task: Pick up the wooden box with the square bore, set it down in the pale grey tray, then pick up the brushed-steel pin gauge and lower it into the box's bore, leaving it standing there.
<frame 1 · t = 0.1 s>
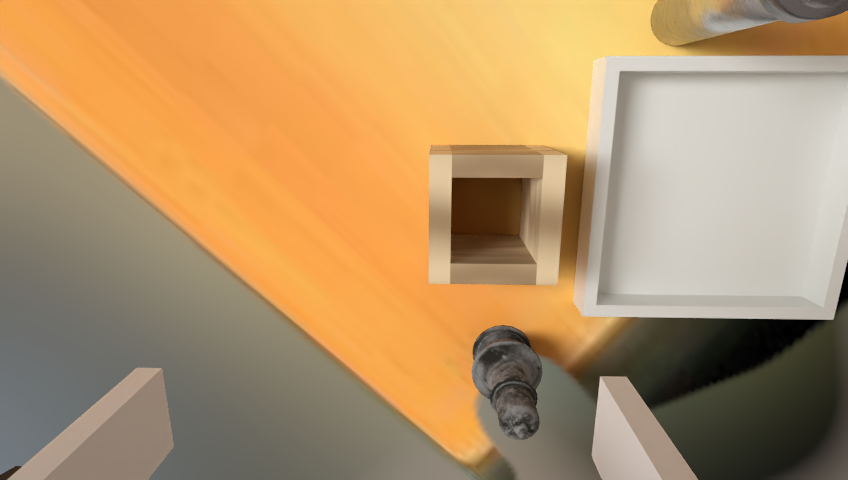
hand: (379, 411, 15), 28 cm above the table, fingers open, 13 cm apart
tray: (705, 189, 40), on the table
wooden box: (484, 200, 41), on the table
pin gauge: (677, 17, 37), on the table
salt shaker: (501, 351, 45), on the table
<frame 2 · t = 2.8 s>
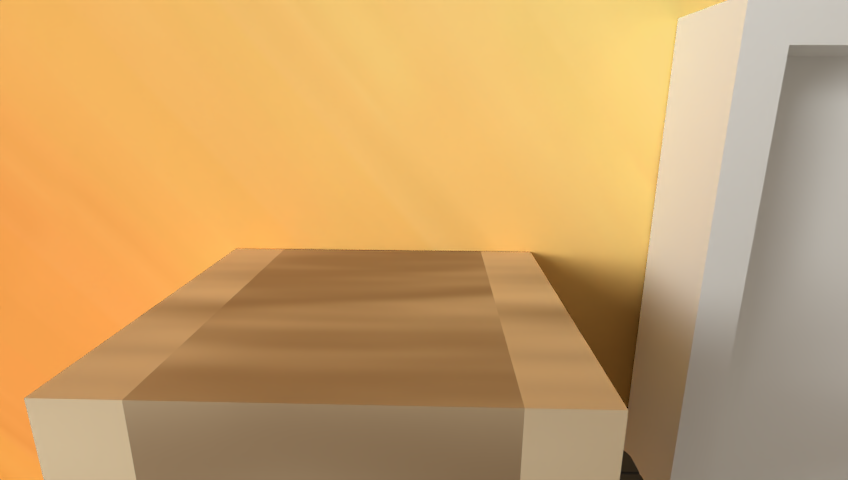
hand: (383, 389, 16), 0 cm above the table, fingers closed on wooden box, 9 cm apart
wooden box: (384, 381, 16), on the table, touching gripper
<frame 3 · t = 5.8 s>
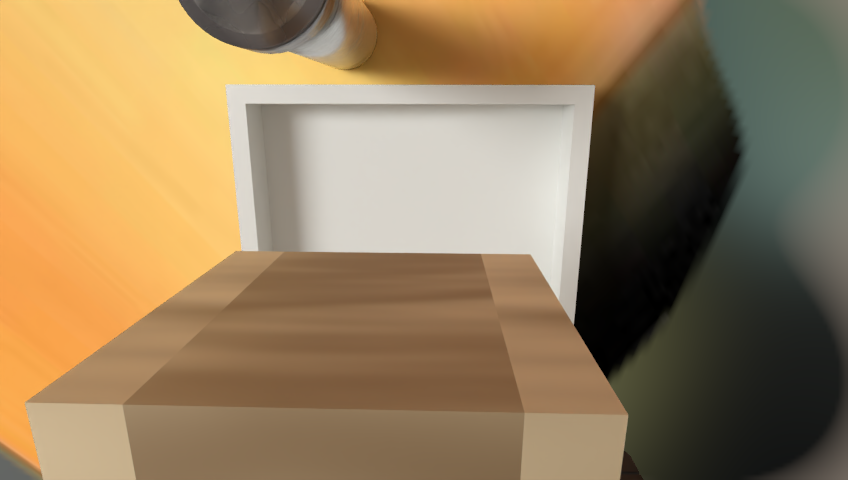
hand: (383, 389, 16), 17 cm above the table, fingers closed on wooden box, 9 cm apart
tray: (412, 247, 32), on the table
wooden box: (384, 383, 16), point 17 cm above the table, touching gripper
pin gauge: (343, 33, 29), on the table
when the fingers open (2 cm above the table, at t = 8.9 s): wooden box stays where it is, resting on tray.
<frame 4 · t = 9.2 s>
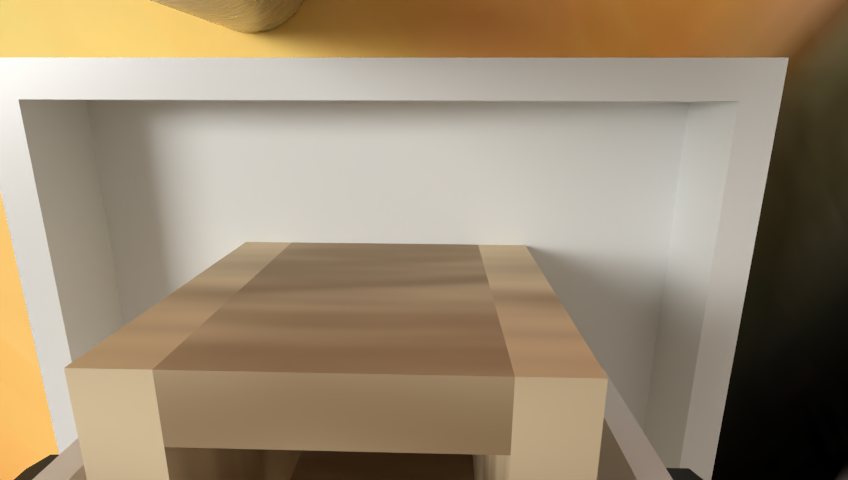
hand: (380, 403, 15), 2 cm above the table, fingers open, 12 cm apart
tray: (389, 363, 18), on the table
wooden box: (386, 369, 17), point 1 cm above the table, touching tray
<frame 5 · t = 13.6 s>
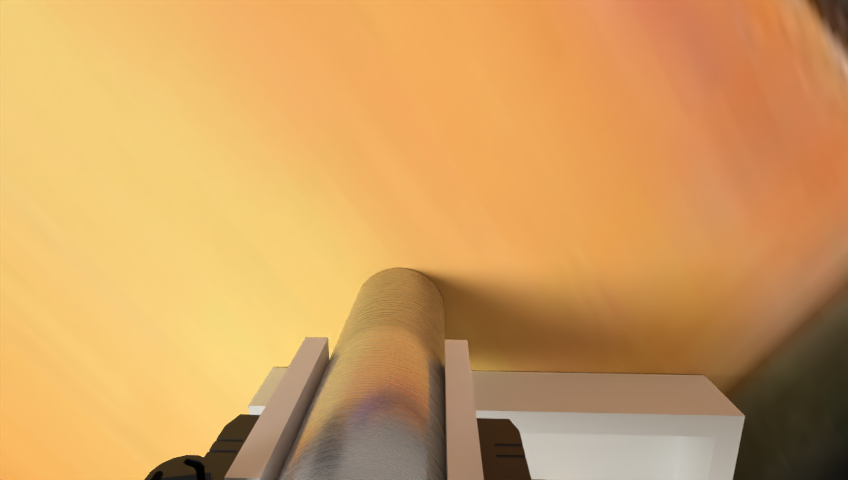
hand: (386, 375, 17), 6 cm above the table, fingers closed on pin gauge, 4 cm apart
pin gauge: (399, 309, 22), on the table, touching gripper
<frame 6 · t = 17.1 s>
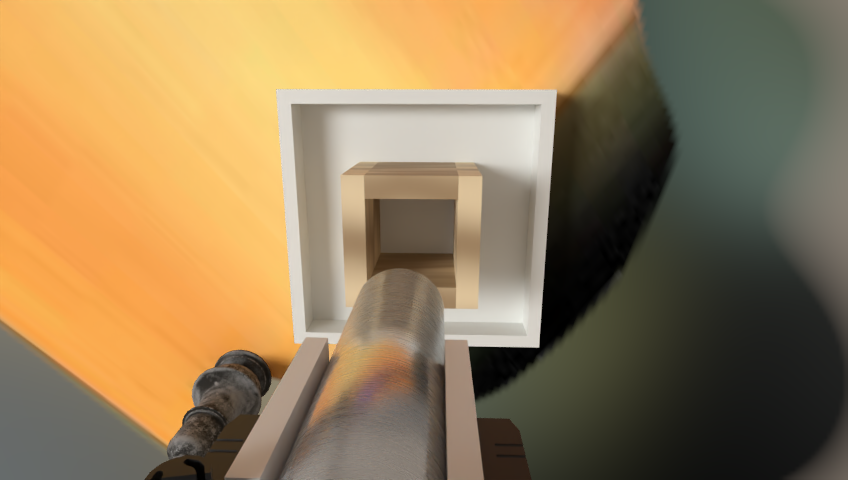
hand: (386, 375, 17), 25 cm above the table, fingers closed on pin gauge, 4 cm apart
tray: (417, 217, 41), on the table
wooden box: (416, 217, 40), point 1 cm above the table, touching tray
pin gauge: (399, 310, 22), point 19 cm above the table, touching gripper
salt shaker: (243, 374, 45), on the table
when the fingers open (10 cm above the table, at t = 20.6 s): pin gauge drops 3 cm, resting on tray.
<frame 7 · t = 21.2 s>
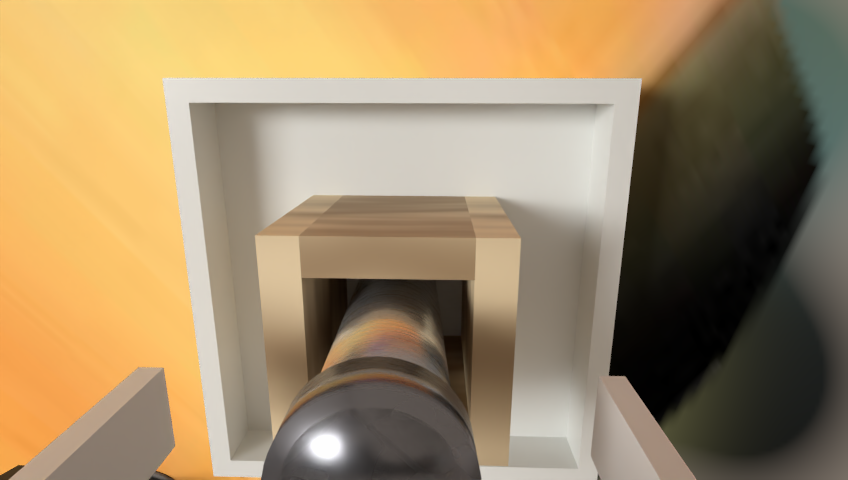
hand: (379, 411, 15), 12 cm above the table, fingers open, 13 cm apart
tray: (405, 279, 26), on the table
wooden box: (404, 281, 25), point 1 cm above the table, touching tray
pin gauge: (397, 288, 25), point 1 cm above the table, touching tray
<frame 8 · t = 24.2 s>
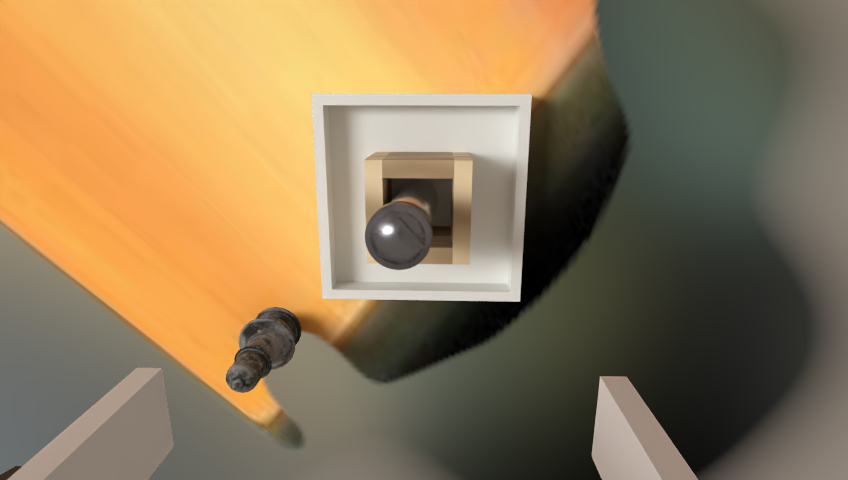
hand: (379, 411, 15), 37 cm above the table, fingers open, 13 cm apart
tray: (421, 197, 50), on the table
wooden box: (421, 197, 50), point 1 cm above the table, touching tray
pin gauge: (418, 200, 50), point 1 cm above the table, touching tray
salt shaker: (278, 328, 55), on the table
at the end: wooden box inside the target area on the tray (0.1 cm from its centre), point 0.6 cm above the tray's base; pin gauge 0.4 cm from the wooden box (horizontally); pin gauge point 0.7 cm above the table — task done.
